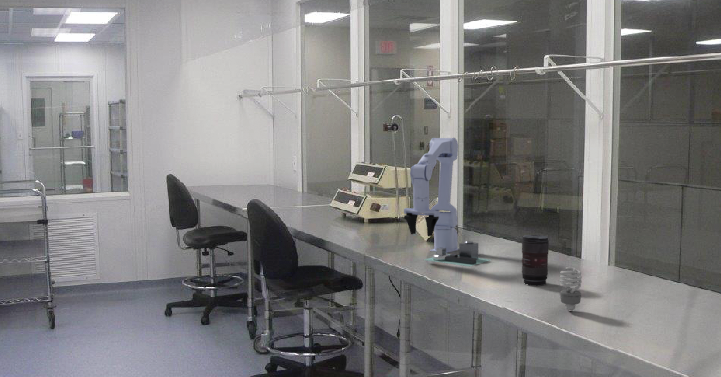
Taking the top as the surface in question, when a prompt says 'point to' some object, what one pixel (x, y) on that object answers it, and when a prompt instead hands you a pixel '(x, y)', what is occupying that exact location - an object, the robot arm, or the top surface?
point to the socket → (468, 249)
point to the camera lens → (535, 259)
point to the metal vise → (452, 257)
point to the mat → (478, 261)
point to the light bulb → (570, 295)
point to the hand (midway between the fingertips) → (421, 234)
